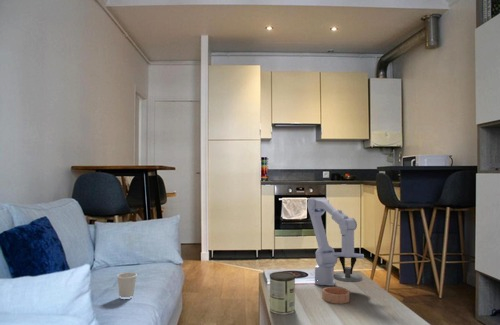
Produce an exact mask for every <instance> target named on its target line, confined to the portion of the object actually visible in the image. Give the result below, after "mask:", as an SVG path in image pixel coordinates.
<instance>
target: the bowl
mask: <svg viewBox="0 0 500 325" xmlns="http://www.w3.org/2000/svg"><path fill="white" fill-rule="evenodd" d="M321 292H322V293H321V296H322V298H321V299H322V300H323V301H324V302H327V303H331V304H347V303H350V290H348V289H346V288H343V287H338V286H329V287H328V286H327V287H324V288H322V291H321Z"/></svg>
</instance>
